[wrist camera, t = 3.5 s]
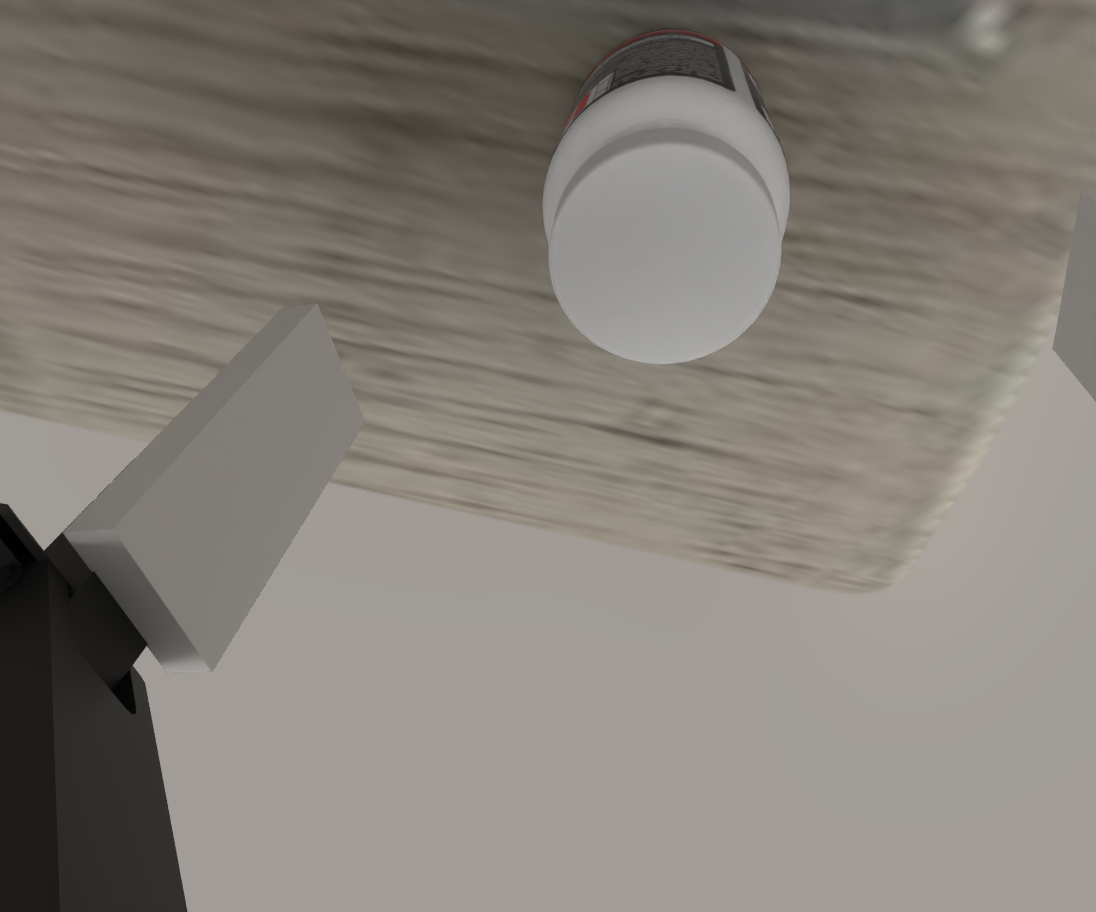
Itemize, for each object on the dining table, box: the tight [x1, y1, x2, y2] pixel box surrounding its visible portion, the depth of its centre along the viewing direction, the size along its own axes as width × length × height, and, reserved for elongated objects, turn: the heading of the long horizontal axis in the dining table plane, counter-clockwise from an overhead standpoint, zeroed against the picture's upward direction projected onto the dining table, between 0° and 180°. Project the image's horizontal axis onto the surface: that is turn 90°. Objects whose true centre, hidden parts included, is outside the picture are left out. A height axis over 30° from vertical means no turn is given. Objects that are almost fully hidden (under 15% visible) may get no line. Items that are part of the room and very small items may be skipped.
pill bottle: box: [543, 30, 790, 364], centre depth 19 cm, size 6×6×10 cm
